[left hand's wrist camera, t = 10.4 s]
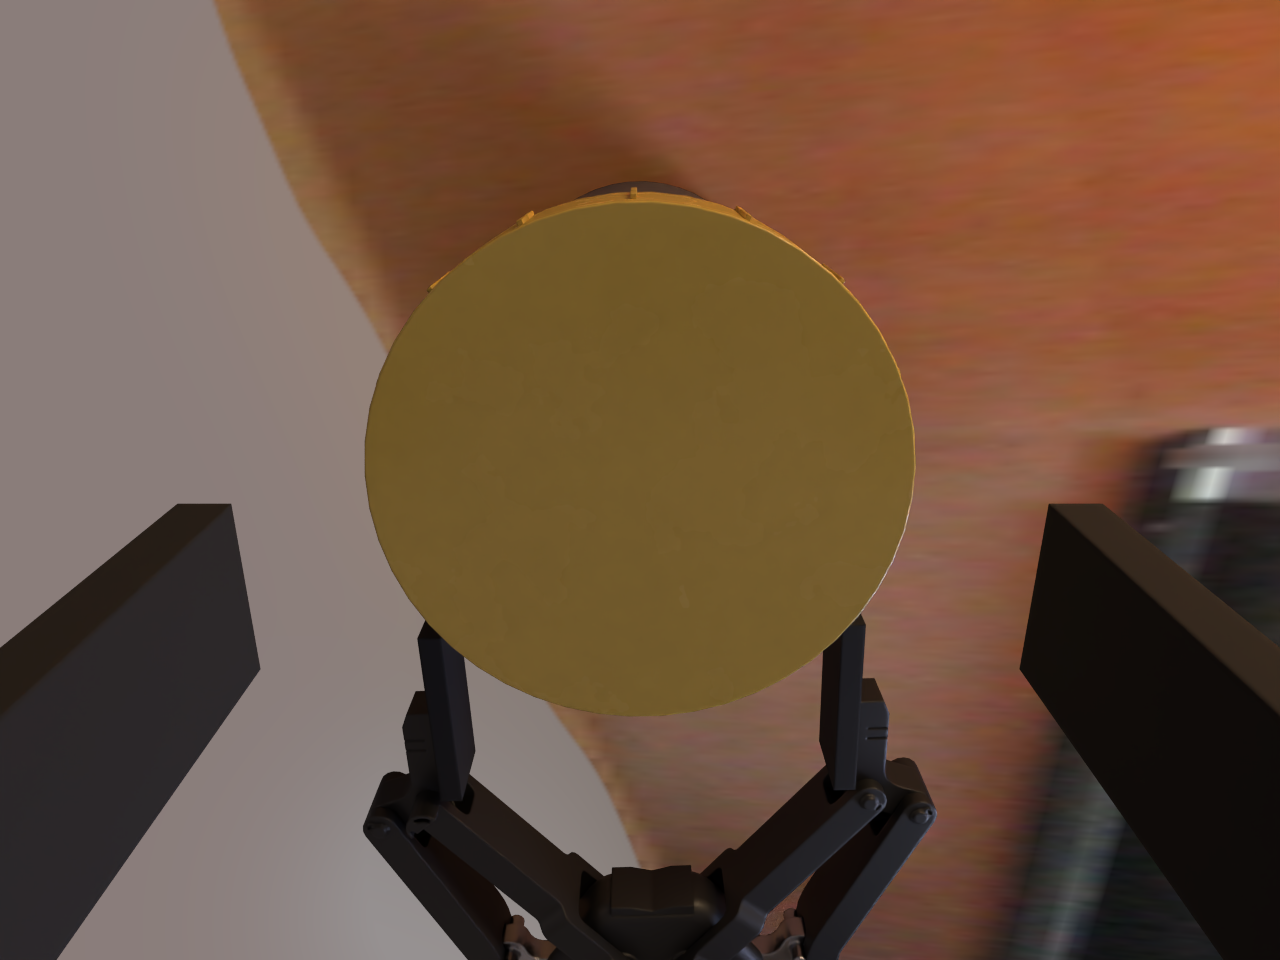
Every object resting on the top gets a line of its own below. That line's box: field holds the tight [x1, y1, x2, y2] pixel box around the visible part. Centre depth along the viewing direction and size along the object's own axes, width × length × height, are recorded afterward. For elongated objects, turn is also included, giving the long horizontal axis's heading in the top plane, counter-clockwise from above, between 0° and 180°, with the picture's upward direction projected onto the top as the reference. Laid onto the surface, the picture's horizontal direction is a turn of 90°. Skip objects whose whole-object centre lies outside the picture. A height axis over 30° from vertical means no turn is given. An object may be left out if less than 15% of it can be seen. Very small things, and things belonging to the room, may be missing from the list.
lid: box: [365, 187, 916, 716], centre depth 18 cm, size 10×10×2 cm
